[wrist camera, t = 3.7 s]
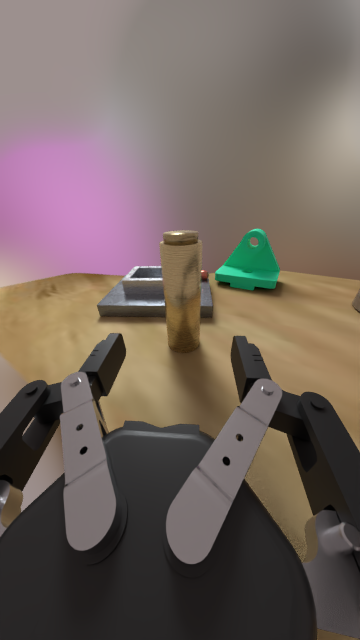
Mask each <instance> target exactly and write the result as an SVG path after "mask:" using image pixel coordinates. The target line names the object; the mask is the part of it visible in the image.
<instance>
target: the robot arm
mask: <svg viewBox="0 0 360 640" xmlns="http://www.w3.org/2000/svg"><path fill="white" fill-rule="evenodd" d="M352 305H353V306H354V308H355V309H357V310H358V311H359V312H360V289H359V291H358V293H357V295H356V297H355V299H354V300H353V302H352ZM125 356H126V348H125V344H124V340H123V337H122V334H120V333H110V334H109V335H108V337H107V338H106V340H102V341H101V342H100V343H98V344H97V345H96V347H95V348H94V350H93V351H92V352H91V354H90V356H89V357H88V358H87V360H86V361H85V363H84V364H83V365H82V367H81V368H80V370H79V371H78V372H75V373H73V374H70V375H69V376H67V377H66V378H65V379H64V380H63V382H61V383H56V384H52V385H47V383H46V382H45V381H43V380H37V381H33V382H31V383H29V384H27V385H26V386H24V387H23V388H22V389H21V390H20V391H19V392H18V394H17V395H16V396H15V397H14V398H13V399H12V400H11V402H10V403H9V404H8V405H7V406H6V407H5V409H4V410H3V411H2V412H1V413H0V640H317V628H318V629H322V630H326V631H330V632H334V633H338V634H342V635H346V636H350V637H354V638H358V639H360V452H359V450H358V448H357V447H356V445H355V443H354V442H353V440H352V438H351V437H350V435H349V433H348V432H347V430H346V428H345V427H344V425H343V423H342V422H341V420H340V418H339V416H338V415H337V413H336V411H335V410H334V408H333V406H332V405H331V403H330V402H329V401H328V400H327V399H325V398H324V397H323V396H321V395H319V394H317V393H314V392H304V393H303V394H302V395H301V396H298V395H295V394H291V393H288V392H285V391H283V390H281V388H280V387H279V385H277V384H276V383H275V382H273V381H272V379H271V377H270V375H269V372H268V370H267V368H266V365H265V363H264V361H263V358H262V356H261V353H260V351H259V349H258V348H257V347H256V346H255V345H254V344H248V342H247V339H246V337H245V336H234V337H233V342H232V348H231V363H232V367H233V372H234V376H235V381H236V386H237V390H238V395H239V400H240V403H242V404H241V405H240V406H237V407H236V409H235V410H234V412H233V413H232V415H231V416H230V418H229V419H228V421H227V422H226V424H225V425H224V427H223V428H222V430H221V432H220V433H219V435H218V436H217V438H216V439H215V440H214V439H213V438H212V437H211V436H209V435H208V434H206V433H204V432H201V431H199V425H191V424H178V425H173V426H168V427H164V428H159V427H156V426H153V425H151V424H148V423H145V422H140V421H125V422H124V426H123V427H120V428H118V429H115V430H113V431H111V432H110V433H109V431H108V429H107V426H106V422H105V419H104V416H103V412H102V409H101V405H100V402H99V399H100V397H101V396H108V394H109V392H110V390H111V388H112V385H113V383H114V381H115V379H116V377H117V374H118V372H119V370H120V368H121V366H122V363H123V361H124V359H125ZM33 417H34V418H35V419H34V420H33V422H32V423H31V425H30V426H29V428H28V429H27V431H26V432H25V433H24V435H23V432H24V430H25V428H26V427H27V426H28V424H29V423H30V421H31V420H32V418H33ZM59 424H61V436H62V446H63V459H64V471H65V473H63V474H62V475H61V477H59V478H58V479H57V480H56V481H55V482H54V483H53V484H52V485H50V486H49V487H48V488H47V489H46V490H45V491H44V492H43V493H42V494H41V495H40V496H39V497H38V498H37V499H35V500H34V501H33V502H32V503H31V504H30V505H29V506H28V507H27V508H26V509H25V510H23V512H21V504H22V501H23V493H22V491H23V489H24V487H25V485H26V483H27V482H28V480H29V478H30V476H31V474H32V473H33V471H34V469H35V467H36V465H37V464H38V462H39V460H40V458H41V456H42V455H43V453H44V451H45V449H46V447H47V446H48V444H49V442H50V440H51V438H52V437H53V435H54V433H55V431H56V429H57V428H58V426H59ZM268 427H271V428H273V429H276V430H279V431H281V432H284V433H286V434H287V437H288V440H289V443H290V446H291V449H292V452H293V455H294V458H295V461H296V464H297V467H298V470H299V473H300V476H301V479H302V482H303V486H304V489H305V492H306V495H307V498H308V501H309V504H310V507H311V510H312V513H313V517H311V518H310V519H309V520H308V521H307V522H306V525H305V538H306V543H307V554H306V558H305V560H304V561H303V562H301V560H300V558H299V556H298V554H297V553H296V551H295V549H294V548H293V546H292V545H291V543H290V542H289V540H288V539H287V537H286V536H285V535H284V533H283V532H282V530H281V529H280V528H279V526H278V525H277V524H276V522H275V521H274V519H273V518H272V517H271V515H270V514H269V512H268V511H267V510H266V508H265V507H264V505H263V504H262V503H261V501H260V500H259V499H258V497H257V496H256V494H255V493H254V492H253V490H252V489H251V487H250V486H249V485H248V483H247V482H246V480H245V479H244V478H245V476H246V474H247V472H248V470H249V467H250V465H251V463H252V461H253V459H254V456H255V454H256V452H257V450H258V448H259V446H260V443H261V441H262V439H263V437H264V435H265V433H266V430H267V428H268ZM22 435H23V436H22Z"/></svg>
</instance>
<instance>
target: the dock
mask: <svg viewBox="0 0 360 640" xmlns="http://www.w3.org/2000/svg"><path fill="white" fill-rule="evenodd" d="M208 276H209V274H208V272H207V271H205V270H202V273H201V305H200V317H212V308H213V305H212V299H211V292H210V286H209V279H208ZM97 307H98V311H99V314H100V316H137V317H166V312H165V301H164V289H163V278H162V267H161V266H150V267H149V266H143V267H141V266H140V267H139V266H138V267H134V268H133V269H132V270H131V271H130V272H129V273H128V274H127V275H125V277H124V278H123V279H122V280H121V281H120V282H119V283H118V284H117V285H116V286H115V287H114V288H113V289H112V290H111V291H110V292H109V293H108V294H107V295H106V296H105V297H104V298H103V299H102V300H101V301H100V302H99V303H98V305H97Z"/></svg>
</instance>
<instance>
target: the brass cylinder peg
mask: <svg viewBox="0 0 360 640" xmlns="http://www.w3.org/2000/svg"><path fill="white" fill-rule="evenodd" d="M159 245H160V256H161V267H162V278H163V289H164V301H165V312H166V323H167V334H168V344H169V347H170V348H171V349H172V350H174V351H176V352H181V353H186V352H191V351H193V350H195V349H196V348H197V347H198V346H199V337H200V305H201V273H202V270H201V269H202V241H201V240H198V232H197V231H170V232H165V233H163V241H162V242H160V244H159Z"/></svg>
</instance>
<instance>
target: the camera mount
mask: <svg viewBox="0 0 360 640" xmlns="http://www.w3.org/2000/svg"><path fill="white" fill-rule="evenodd" d="M251 237H255V238H257V239H258V241H259V243H258V245H257V246H253V245H251V243H250V239H251ZM279 272H280V268H279V265H278V263H277V260H276V258H275V255H274V253H273V250H272V248H271V246H270V243H269V240H268V238H267V235H266V233H265V232H264V231H263V230H261V229H254V230H251V231H250V232H248V233H247V234H246V235H245V236H244V237H243V239H242V241H241V242H240V243H239V245H238V246H237V248H236V249H235V250H234V252H233V253H232V254H231V255H230V257H229V258H228V260H227V261H226V262H225V263H224V265H223V266H222V267H221V268H219V269H218V270H217V271H216V273H215V280H217V281H222V282H229V283H230V287H234V288H241V289H247V290H254V288H255V286H256V287H262V288H269V289H273V288H275V287H276V283H277V279H278V276H279Z"/></svg>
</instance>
